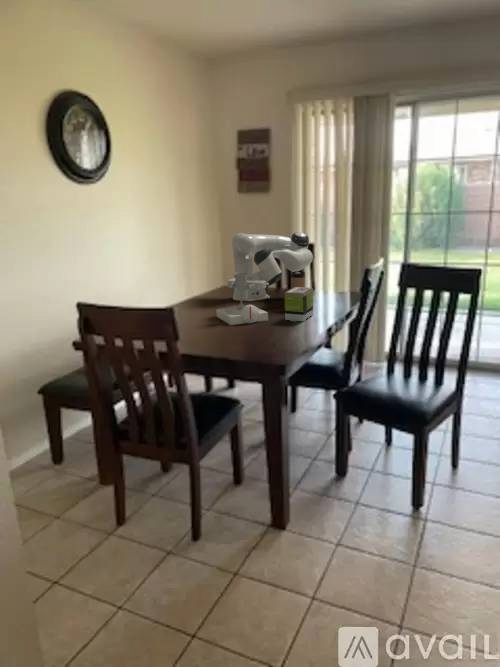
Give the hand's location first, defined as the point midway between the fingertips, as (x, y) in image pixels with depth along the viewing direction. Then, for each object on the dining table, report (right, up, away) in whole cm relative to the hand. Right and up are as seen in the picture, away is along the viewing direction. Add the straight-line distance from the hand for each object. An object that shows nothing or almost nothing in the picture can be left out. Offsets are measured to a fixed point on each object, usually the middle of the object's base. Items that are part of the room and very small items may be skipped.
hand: (240, 286), depth 249 cm
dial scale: (+1, -16, +5) cm, 17 cm away
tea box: (+30, -16, +3) cm, 34 cm away
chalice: (+1, -11, +4) cm, 12 cm away
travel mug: (+31, -10, +25) cm, 41 cm away
